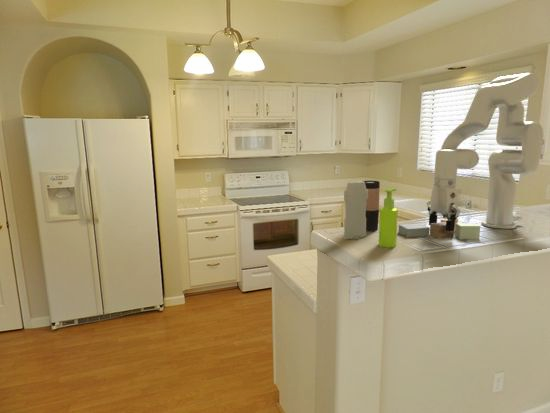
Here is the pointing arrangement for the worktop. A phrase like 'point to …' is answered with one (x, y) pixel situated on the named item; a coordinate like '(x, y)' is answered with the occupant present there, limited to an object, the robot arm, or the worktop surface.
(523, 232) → the worktop surface
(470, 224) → the sage block
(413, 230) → the slate block
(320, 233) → the worktop surface
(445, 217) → the oak block
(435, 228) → the walnut block
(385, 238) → the soap dispenser
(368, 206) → the travel mug
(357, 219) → the beige tall block
